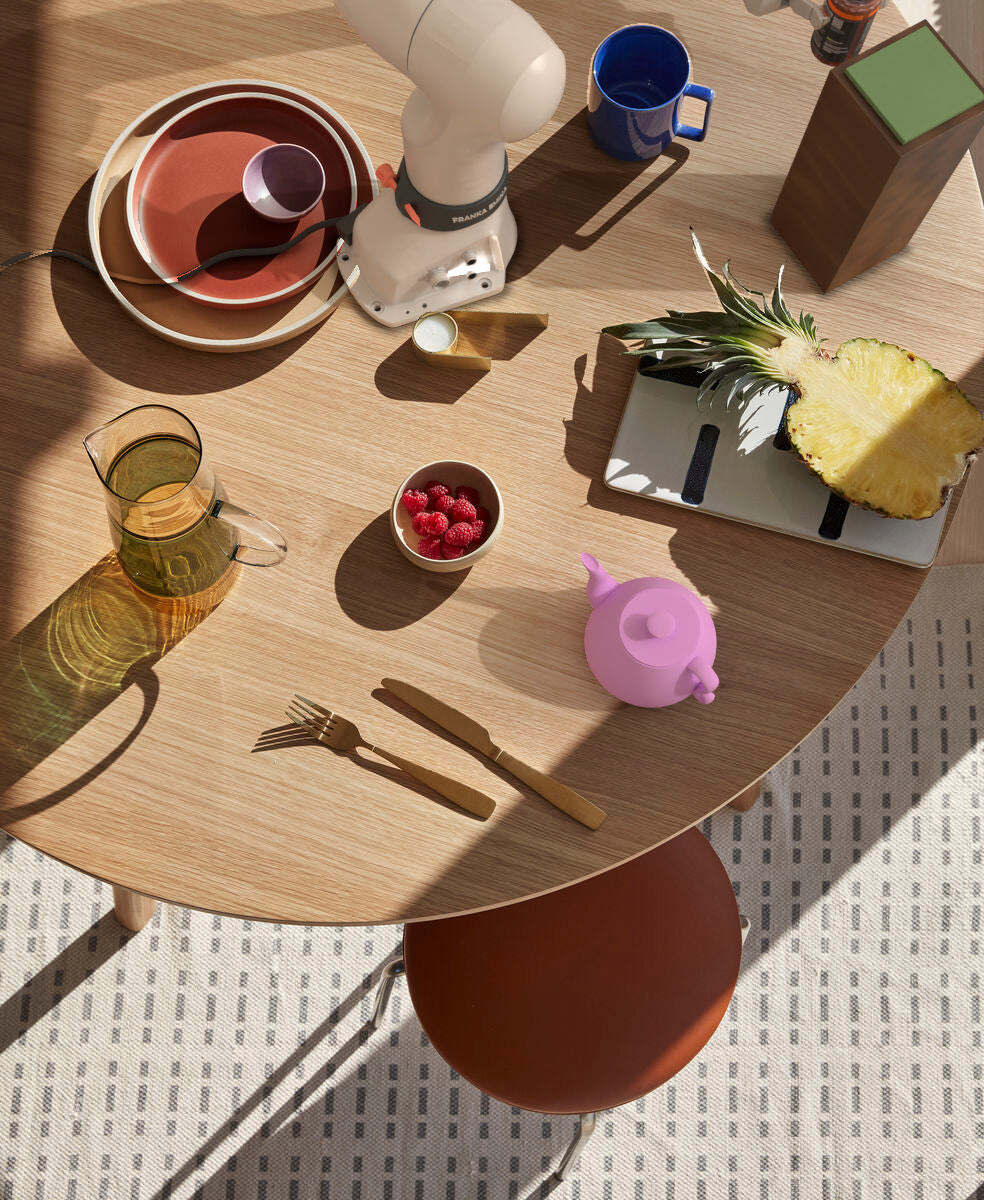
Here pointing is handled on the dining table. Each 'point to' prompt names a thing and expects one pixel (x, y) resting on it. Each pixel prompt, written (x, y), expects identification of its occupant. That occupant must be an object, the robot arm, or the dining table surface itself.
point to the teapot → (648, 639)
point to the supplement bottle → (843, 30)
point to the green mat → (914, 85)
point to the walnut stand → (864, 178)
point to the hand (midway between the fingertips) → (853, 14)
